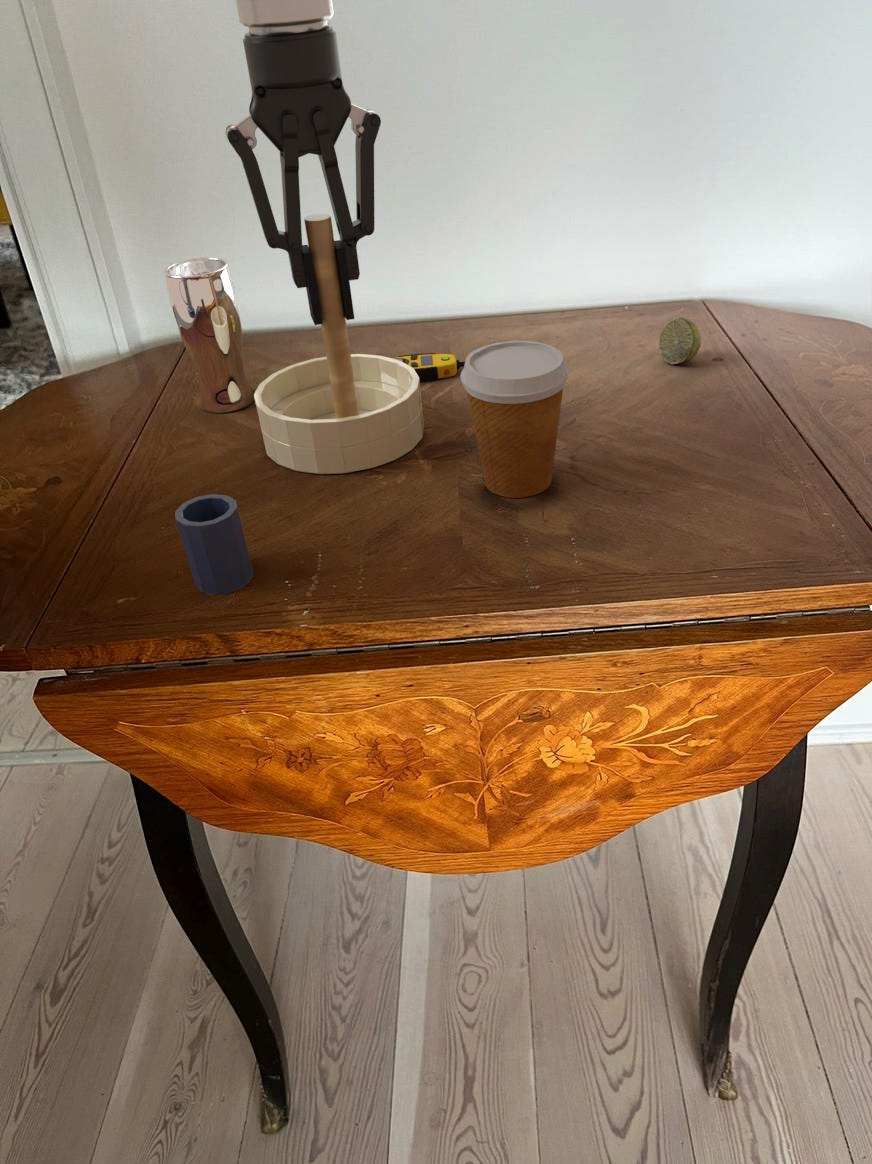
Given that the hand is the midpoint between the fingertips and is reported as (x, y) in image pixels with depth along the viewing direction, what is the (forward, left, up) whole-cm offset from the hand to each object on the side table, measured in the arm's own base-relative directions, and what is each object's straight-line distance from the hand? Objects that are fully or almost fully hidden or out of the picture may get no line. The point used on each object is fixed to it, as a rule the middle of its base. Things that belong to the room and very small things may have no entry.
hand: (332, 316), depth 91 cm
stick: (0, 0, -11) cm, 11 cm away
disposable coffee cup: (+13, -15, -13) cm, 24 cm away
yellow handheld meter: (+13, +13, -13) cm, 23 cm away
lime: (+39, +5, -13) cm, 42 cm away
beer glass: (-12, +15, -13) cm, 23 cm away
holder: (-15, -22, -13) cm, 29 cm away
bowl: (-1, 0, -13) cm, 13 cm away
